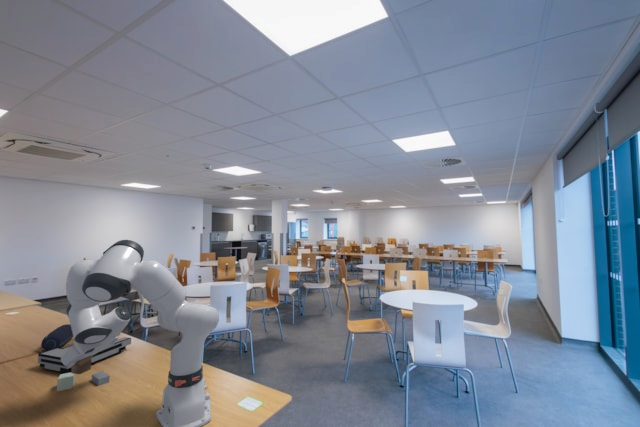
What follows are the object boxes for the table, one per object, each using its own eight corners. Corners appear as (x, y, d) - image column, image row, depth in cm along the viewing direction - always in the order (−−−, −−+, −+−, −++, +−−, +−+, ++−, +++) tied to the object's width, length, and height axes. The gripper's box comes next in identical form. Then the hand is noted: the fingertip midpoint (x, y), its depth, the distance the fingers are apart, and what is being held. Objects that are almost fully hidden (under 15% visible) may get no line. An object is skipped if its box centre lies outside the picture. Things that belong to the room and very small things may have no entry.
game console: (130, 350, 162) (131, 335, 162) (66, 377, 131) (68, 358, 132) (104, 346, 168) (104, 332, 168) (37, 370, 137) (38, 353, 138)
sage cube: (72, 388, 121) (73, 376, 121) (56, 391, 118) (57, 379, 119) (74, 383, 125) (75, 371, 126) (59, 386, 122) (60, 374, 123)
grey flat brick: (109, 382, 126) (109, 375, 126) (98, 386, 123) (99, 379, 123) (101, 377, 130) (102, 371, 131) (91, 381, 127) (91, 374, 127)
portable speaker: (56, 340, 177) (58, 323, 178) (77, 337, 181) (78, 321, 182) (37, 355, 154) (38, 336, 155) (60, 352, 158) (62, 334, 159)
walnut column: (90, 369, 121) (91, 350, 121) (79, 374, 117) (81, 354, 117) (82, 368, 122) (83, 349, 122) (71, 373, 117) (72, 353, 118)
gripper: (118, 324, 129) (100, 345, 130) (70, 341, 109) (49, 365, 110) (126, 335, 128) (107, 355, 129) (79, 354, 108) (57, 378, 109)
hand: (80, 360), depth 120 cm, fingers closed on walnut column, 4 cm apart
